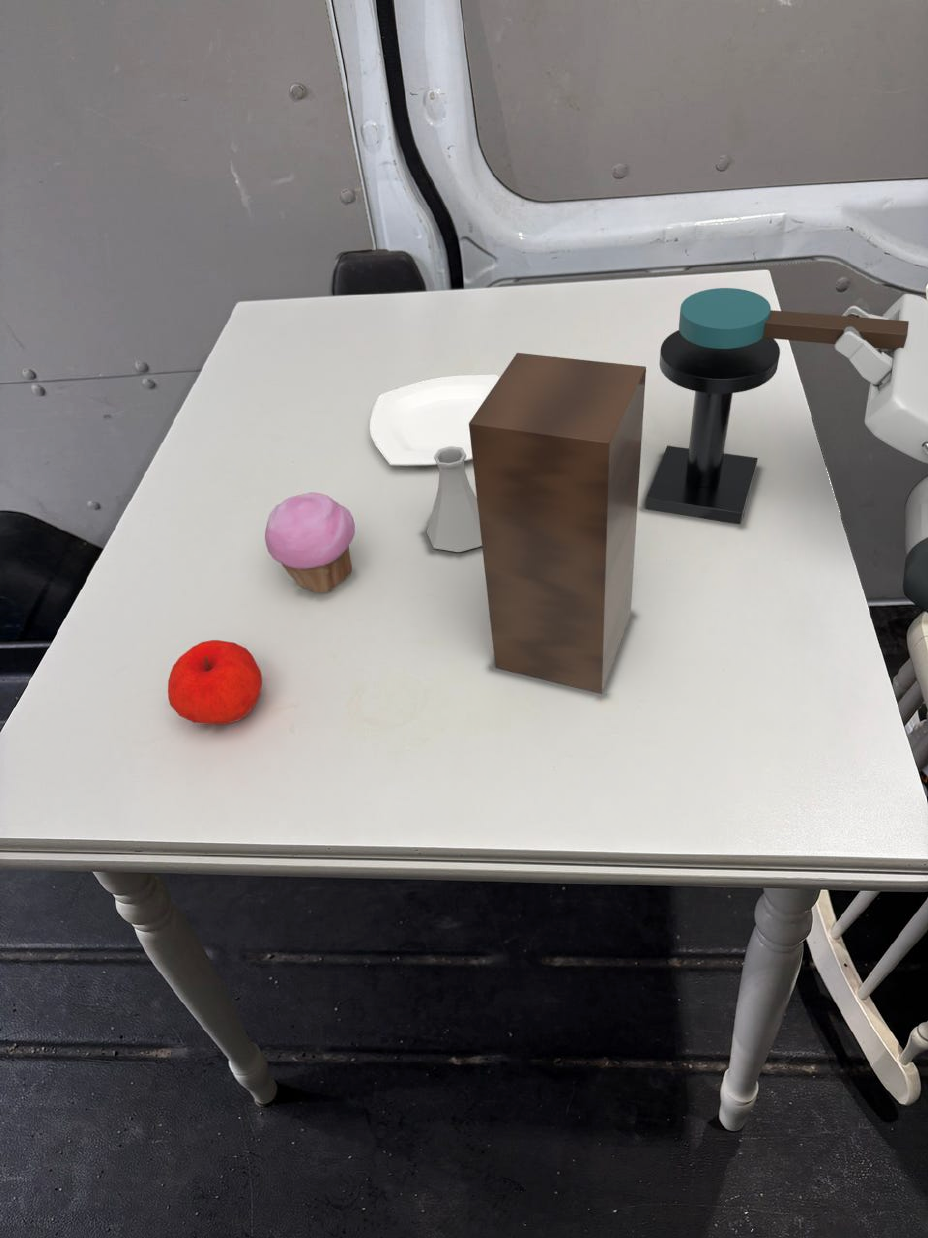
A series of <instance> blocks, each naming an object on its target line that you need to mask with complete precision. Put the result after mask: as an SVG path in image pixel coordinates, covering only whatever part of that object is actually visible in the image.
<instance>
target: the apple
mask: <svg viewBox="0 0 928 1238" xmlns="http://www.w3.org/2000/svg"><path fill="white" fill-rule="evenodd" d="M262 677H263V676H262V671H261V669H260V667H259V665H258V664H257V661H256V660H255V657H254V656H253V654H252V653H251V652H250V650H248V648H246V647H245V646H242V645H240V644H237V643H236V642H234V641H233V642H232V641H226V640H219V639H212V640H207V641H206V640H205V641H202V642H199V643H197V644H196V645H193V646H192V647H190V649H188V650H187V651H185V652H184V653H182V655H180V656H179V657H178V658H177V660H176V662H175V663H174V664H173V665H172V668H171V671H170V673H169V678H168V683H167V699H168V701H169V705H170V706H171V708H172V709H173V711H175V713H176V714H177V715H178V716H179V717H182V718H183V719H186V720H187V721H190V722H192V723H193V724H202V725H203V724H205V725H216V726H217V725H226V724H232V723H234V722H237V721H240V720H242V719H243V718H244V717H246V716H247V715H248V714H249V713H250V712H251V711H252V710H253V708H254V707H255V706H256V704H257V703H258V700H259V698H260V696H261V692H262V691H261V690H262V683H263V681H262V679H263V678H262Z"/></svg>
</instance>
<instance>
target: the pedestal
mask: <svg viewBox="0 0 928 1238" xmlns="http://www.w3.org/2000/svg"><path fill="white" fill-rule="evenodd" d="M646 376H647V366H646V365H645V366H644V365H635V364H634V365H633V364H625V363H616V362H608V361H598V360H597V361H596V360H589V359H588V360H587V359H579V358H571V357H569V358H568V357H561V356H560V357H559V356H550V355H543V354H533V353H524V352H523V353H522V352H516V353H515V355H514V356H513V358H512V359H511V361H510V362H509V363H508V365H507V367H506V368H505V369H504V371H503V372H502V374H501V375H500V376H499V377H500V378H499V380H498V381H497V383H496V384H495V386H494V387H493V389H492V390H491V392H490V393H489V394H488V396H487V397H486V399H485V400H484V402H483V403H482V405H481V406H480V408H479V409H478V411H477V412H476V413H475V415H474V416H473V418H472V419H471V421H470V422H469V431H470V440H471V449H472V458H473V459H472V466H473V475H474V484H475V486H474V487H475V493H476V495H475V496H476V498H477V504H478V513H479V522H480V531H481V540H482V546H481V549H482V557H483V567H484V575H485V585H486V593H487V603H488V611H489V621H490V629H491V631H490V632H491V638H492V639H491V640H492V648H493V649H492V650H493V657H494V658H493V659H494V667H495V669H498V670H503V671H506V672H511V673H515V674H518V675H519V674H520V675H522V676H528V677H532V678H536V679H539V680H545V681H548V682H553V683H557V684H560V685H565V686H569V687H572V688H578V689H580V690H586V691H590V692H594V693H598V694H603V692H604V689H605V686H606V684H607V682H608V678H609V675H610V674H611V670H612V668H613V664H614V662H615V660H616V656H617V653H618V651H619V648H620V646H621V643H622V640H623V637H624V635H625V633H626V630H627V626H628V624H629V621H630V618H631V616H632V615H631V614H632V598H633V586H634V585H633V583H634V568H635V567H634V566H635V551H636V538H637V537H636V535H637V522H638V521H637V520H638V519H637V518H638V503H639V489H640V472H641V457H642V456H641V455H642V441H643V439H642V437H643V426H644V425H643V424H644V407H645V393H646V379H647V378H646Z"/></svg>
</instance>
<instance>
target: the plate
mask: <svg viewBox="0 0 928 1238" xmlns="http://www.w3.org/2000/svg"><path fill="white" fill-rule="evenodd" d="M500 377H501V376H499V375H498V374H466V375H465V374H463V375H450V376H442V377H435V378H431V379H426V380H422V381H419V382H415V383H412V384H411V383H410V384H407V385H405V386H404V385H403V386H401V387H398V388H395V389H392V390H390V391H389V390H388V391H387V392H383V393H381V394H379V395H378V396H377V397H378V398H377V399H376V402H375V404H374V406H373V409H372V412H371V415H370V420H369V433H370V437H371V439H372V441H373V443H374V445H375V447H376V448H377V450H378V451H379V452H380V453H381V456H383V458H384V459H385V460H386V462H387V463H388V464H389V465H390V466H404V467H405V466H407V467H408V466H436V465H437V463H436V461H435V459H434V456H435V454H436V453H437V451H438V449H442V448H446V447H449V446H453V447H461V448H463V450H464V452H465V454H466V459H465V461H471V460H473V458H472V449H471V440H470V431H469V422H470V421H471V419H472V418H473V416H474V415H475V413H476V412H477V411H478V409H479V408H480V406H481V405H482V403H483V402H484V400H485V399H486V397H487V396H488V394H489V393H490V392H491V390H492V389H493V387H494V386H495V384H496V383H497V381H498V380H499V378H500ZM465 461H464V462H465ZM437 466H438V465H437Z"/></svg>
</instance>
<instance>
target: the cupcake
mask: <svg viewBox="0 0 928 1238" xmlns="http://www.w3.org/2000/svg"><path fill="white" fill-rule="evenodd" d="M355 533H356V524H355V520H354V517H353V515H352V513H351V511H350V510H349V508H347V507H346V506H344V505H342V504H340V503H339V502H337V501H335V500H334V499H333V498H332V497H330V496H329V495H326V494H324V493H320V492H313V491H311V492H307V493H306V492H305V493H301V494H297V495H294V496H290V497H287V498H286V499H284V500H282V502H280V503H279V504H277V505H276V506H274V508H273V509H272V510H271V511H270V512H269V515H268V517H267V521H266V526H265V531H264V541H265V547H266V548H267V549H266V550H267V552H268V553H269V555H270V556H271V558H272V559H273V560H275V561H276V562H277V563H278V562H279V563H280V564H281V566H282V567H283V568H284V569H285V571H286V572H287V573H288V575H290V577H291V578H292V579H294V581H295V582H296V583H297V584H298V586H299V587H300V588H306V589H308V590H310V591H312V592H313V593H318V594H326V593H329V592H331V591H332V590H333V589H334V588H336V587H337V586H338V585H339V584H340V583H342V582H343V581H345V580H346V579H347V577H348V576H349V575H350V574H351V573H352V570H353V567H352V560H351V552H350V545H351V543H352V541H353V539H354V537H355Z"/></svg>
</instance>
